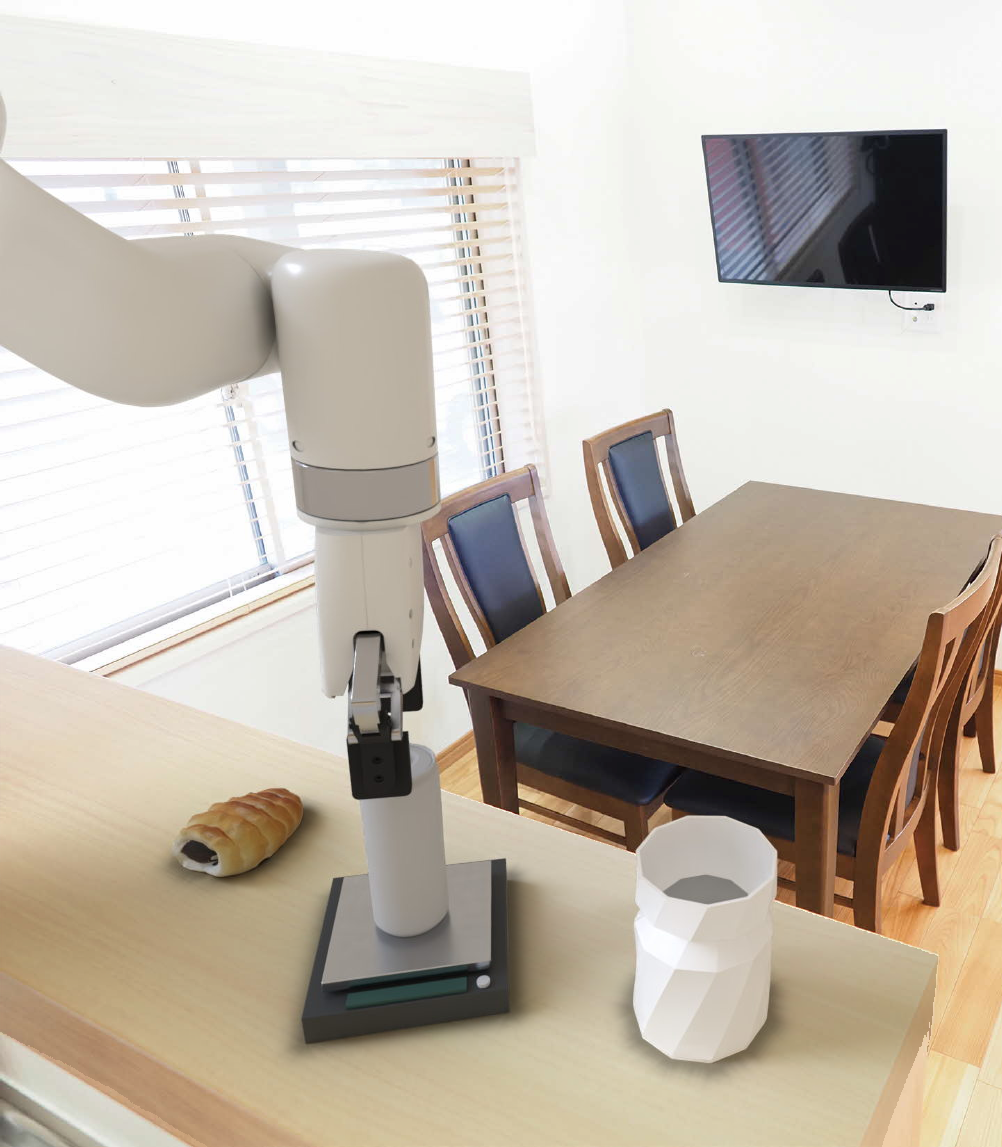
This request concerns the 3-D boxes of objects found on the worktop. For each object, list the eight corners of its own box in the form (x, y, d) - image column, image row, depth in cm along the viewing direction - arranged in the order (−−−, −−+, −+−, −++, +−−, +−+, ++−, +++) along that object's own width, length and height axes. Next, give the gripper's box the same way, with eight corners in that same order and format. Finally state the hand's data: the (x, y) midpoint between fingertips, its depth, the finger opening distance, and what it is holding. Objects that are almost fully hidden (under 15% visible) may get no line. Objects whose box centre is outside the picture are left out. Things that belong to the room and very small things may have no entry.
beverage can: (358, 932, 63) (338, 776, 59) (401, 885, 68) (385, 736, 63) (425, 948, 62) (410, 790, 58) (464, 899, 67) (452, 749, 62)
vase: (723, 1089, 58) (731, 929, 53) (605, 1026, 61) (604, 872, 57) (791, 993, 65) (804, 844, 60) (682, 942, 69) (686, 799, 64)
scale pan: (322, 993, 59) (320, 983, 59) (344, 886, 68) (343, 876, 68) (491, 969, 62) (491, 959, 62) (491, 868, 71) (491, 859, 71)
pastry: (262, 799, 81) (256, 760, 80) (328, 819, 79) (323, 779, 78) (165, 867, 73) (156, 824, 71) (236, 890, 71) (228, 847, 70)
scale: (305, 1046, 59) (300, 1015, 58) (336, 902, 70) (332, 874, 69) (509, 1014, 62) (508, 984, 61) (507, 881, 73) (505, 854, 72)
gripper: (320, 444, 61) (344, 686, 67) (261, 539, 45) (300, 842, 51) (446, 445, 63) (458, 680, 69) (431, 536, 47) (448, 829, 53)
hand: (391, 749), depth 60 cm, fingers open, 9 cm apart
